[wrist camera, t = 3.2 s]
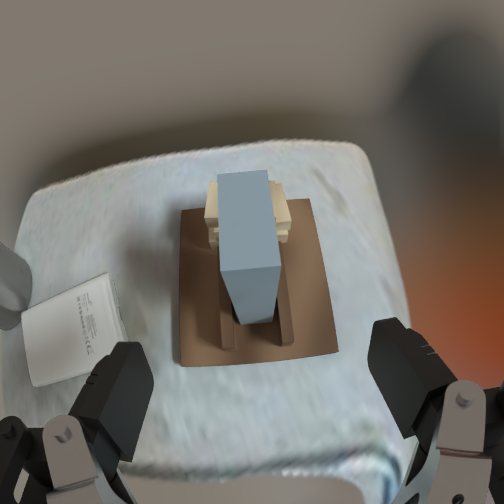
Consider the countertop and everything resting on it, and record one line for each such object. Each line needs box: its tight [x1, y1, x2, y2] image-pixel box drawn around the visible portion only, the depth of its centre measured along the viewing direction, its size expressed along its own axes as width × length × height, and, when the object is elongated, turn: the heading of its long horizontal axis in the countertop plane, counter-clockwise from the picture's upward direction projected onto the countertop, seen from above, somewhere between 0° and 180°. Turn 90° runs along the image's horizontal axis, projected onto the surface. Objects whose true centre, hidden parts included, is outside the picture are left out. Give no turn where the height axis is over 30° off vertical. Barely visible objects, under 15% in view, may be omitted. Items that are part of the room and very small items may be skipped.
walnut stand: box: [179, 199, 339, 367], centre depth 22 cm, size 12×14×4 cm
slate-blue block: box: [217, 170, 281, 325], centre depth 17 cm, size 2×5×11 cm, turn 5°
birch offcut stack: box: [204, 181, 292, 249], centre depth 23 cm, size 7×4×4 cm, turn 95°
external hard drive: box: [21, 272, 129, 387], centre depth 21 cm, size 2×8×12 cm
